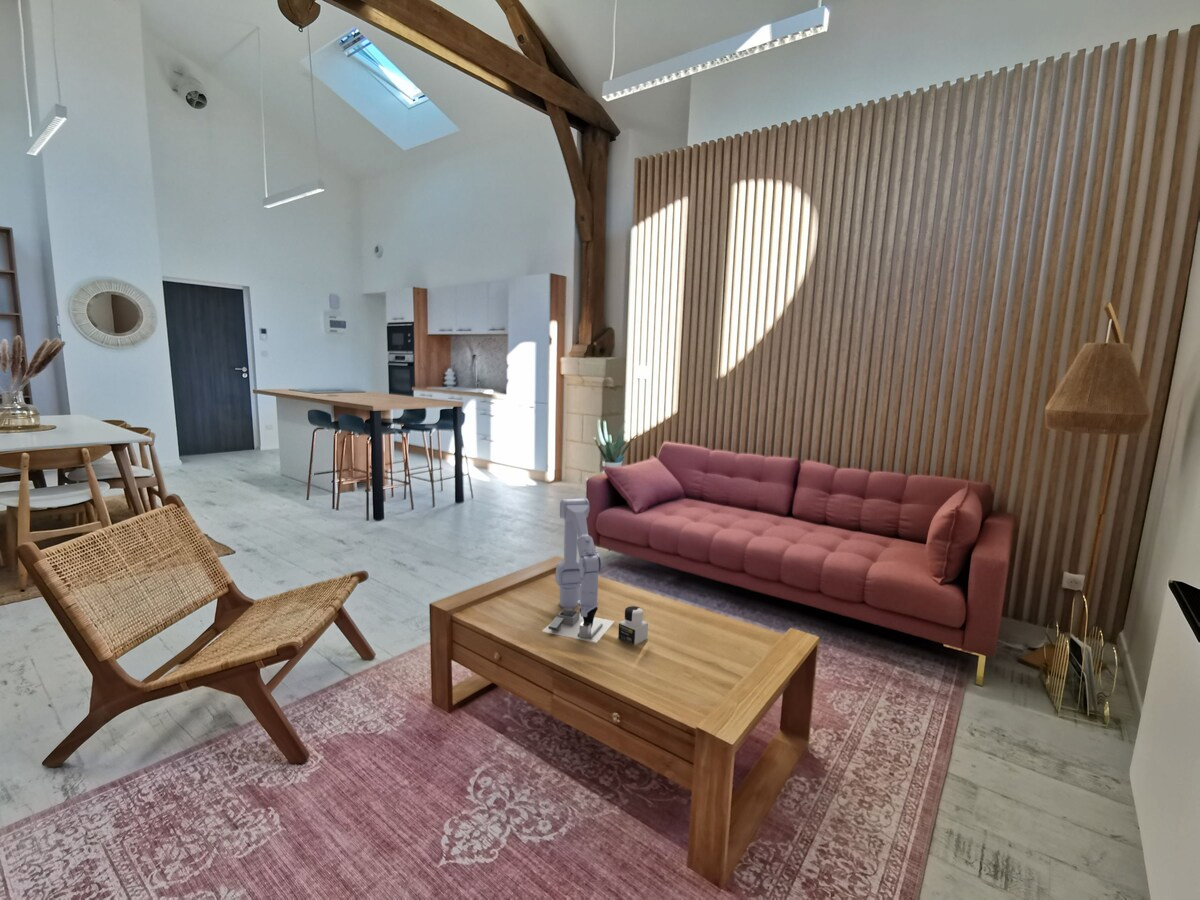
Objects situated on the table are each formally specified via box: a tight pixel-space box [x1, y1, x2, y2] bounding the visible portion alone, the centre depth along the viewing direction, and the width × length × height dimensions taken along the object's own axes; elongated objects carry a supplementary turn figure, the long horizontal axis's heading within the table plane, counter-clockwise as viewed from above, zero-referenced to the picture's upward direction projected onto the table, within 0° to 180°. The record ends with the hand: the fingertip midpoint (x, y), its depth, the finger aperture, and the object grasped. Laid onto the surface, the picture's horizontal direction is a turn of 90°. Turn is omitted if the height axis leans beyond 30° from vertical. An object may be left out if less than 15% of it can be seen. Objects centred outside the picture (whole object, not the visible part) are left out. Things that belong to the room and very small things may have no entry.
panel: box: [541, 609, 615, 644], centre depth 205 cm, size 18×20×4 cm
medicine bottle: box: [617, 605, 649, 646], centre depth 196 cm, size 7×7×12 cm
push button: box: [562, 607, 575, 617], centre depth 208 cm, size 4×4×4 cm
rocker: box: [547, 616, 564, 631], centre depth 201 cm, size 6×3×1 cm, turn 159°
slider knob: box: [579, 621, 591, 638], centre depth 197 cm, size 3×3×4 cm
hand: (588, 628), depth 199 cm, fingers closed
